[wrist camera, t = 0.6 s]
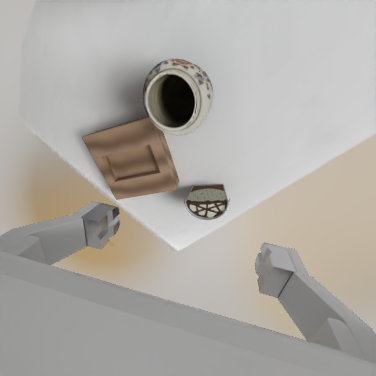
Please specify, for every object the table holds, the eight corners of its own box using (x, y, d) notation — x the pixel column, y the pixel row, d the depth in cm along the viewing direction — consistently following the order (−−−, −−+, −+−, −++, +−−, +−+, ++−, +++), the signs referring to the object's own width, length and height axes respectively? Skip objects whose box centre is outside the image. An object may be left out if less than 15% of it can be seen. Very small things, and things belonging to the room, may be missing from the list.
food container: (190, 201, 58) (185, 221, 49) (188, 185, 55) (182, 203, 46) (228, 200, 56) (230, 221, 47) (228, 183, 53) (230, 203, 44)
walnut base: (94, 132, 51) (81, 137, 46) (157, 114, 45) (150, 117, 41) (124, 190, 60) (116, 199, 55) (179, 180, 55) (175, 189, 50)
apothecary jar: (158, 111, 45) (128, 126, 30) (171, 56, 39) (140, 38, 23) (202, 128, 46) (194, 151, 30) (221, 76, 39) (224, 72, 24)
